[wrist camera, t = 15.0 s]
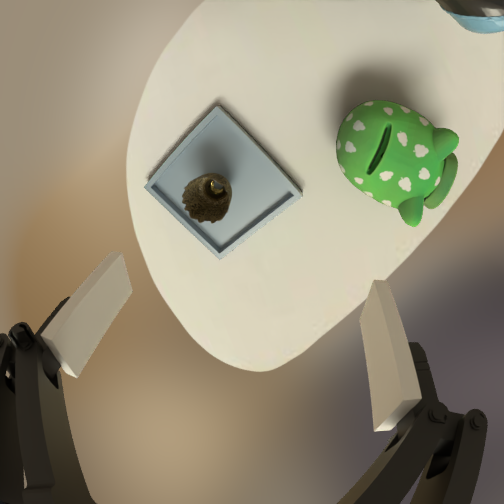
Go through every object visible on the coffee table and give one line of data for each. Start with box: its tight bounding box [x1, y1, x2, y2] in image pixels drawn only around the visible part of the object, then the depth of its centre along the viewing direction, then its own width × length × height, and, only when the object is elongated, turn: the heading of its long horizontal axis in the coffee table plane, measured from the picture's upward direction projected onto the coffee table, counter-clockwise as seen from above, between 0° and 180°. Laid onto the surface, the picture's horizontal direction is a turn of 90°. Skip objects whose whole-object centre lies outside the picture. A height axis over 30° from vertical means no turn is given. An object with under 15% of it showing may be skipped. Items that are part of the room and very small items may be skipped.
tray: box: [144, 106, 303, 260], centre depth 47 cm, size 20×20×2 cm
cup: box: [182, 173, 232, 224], centre depth 44 cm, size 8×7×8 cm
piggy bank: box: [336, 100, 459, 227], centre depth 33 cm, size 14×18×15 cm
